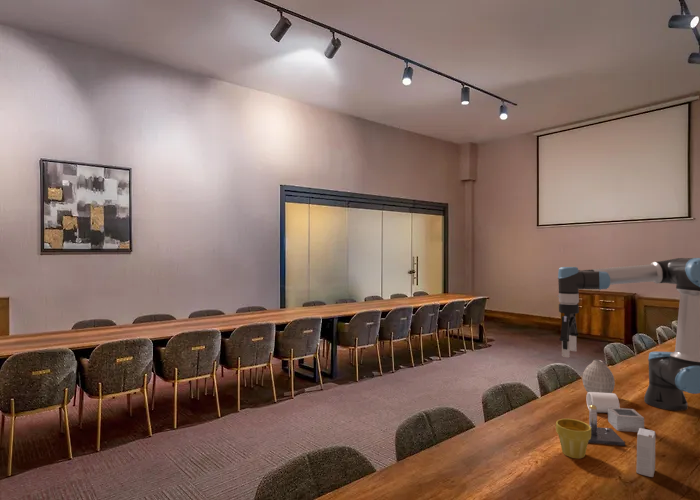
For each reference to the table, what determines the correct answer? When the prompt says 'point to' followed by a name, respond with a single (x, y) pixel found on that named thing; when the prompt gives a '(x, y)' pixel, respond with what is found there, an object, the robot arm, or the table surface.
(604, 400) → the mug
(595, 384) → the vase
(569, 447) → the plant pot
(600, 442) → the keeper
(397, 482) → the table surface
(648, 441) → the skincare box
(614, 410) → the link
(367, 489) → the table surface
